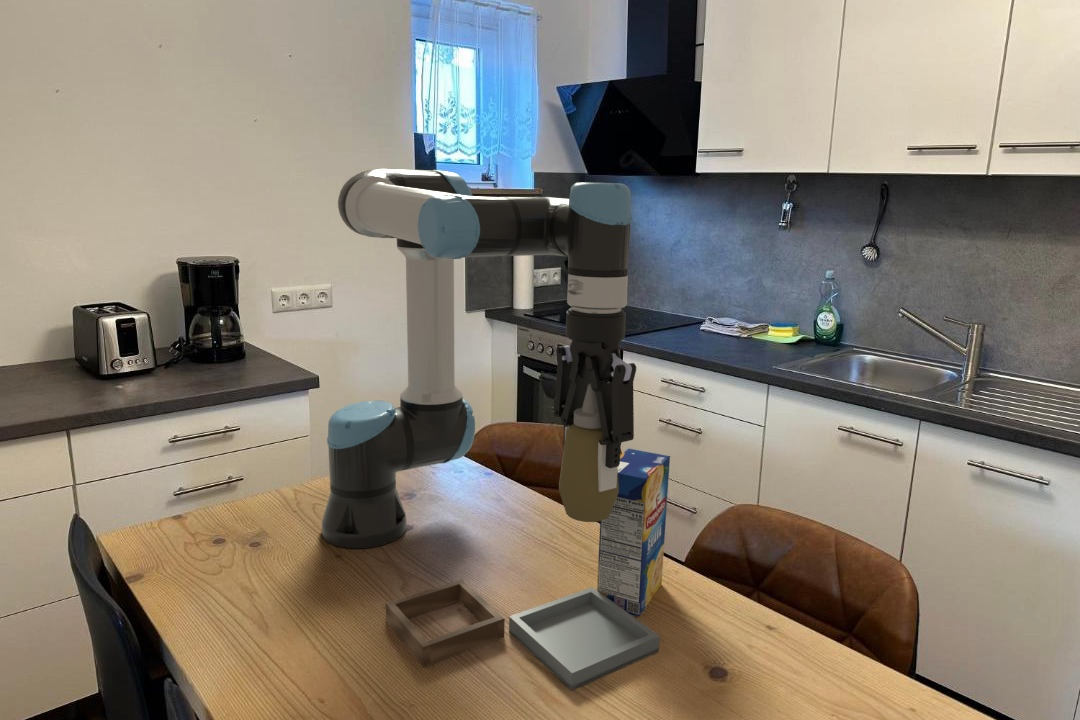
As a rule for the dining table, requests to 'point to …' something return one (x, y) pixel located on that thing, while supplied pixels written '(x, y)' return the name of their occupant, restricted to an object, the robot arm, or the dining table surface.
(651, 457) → the beverage box
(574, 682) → the tray
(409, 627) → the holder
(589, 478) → the squeeze bottle
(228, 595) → the dining table surface
